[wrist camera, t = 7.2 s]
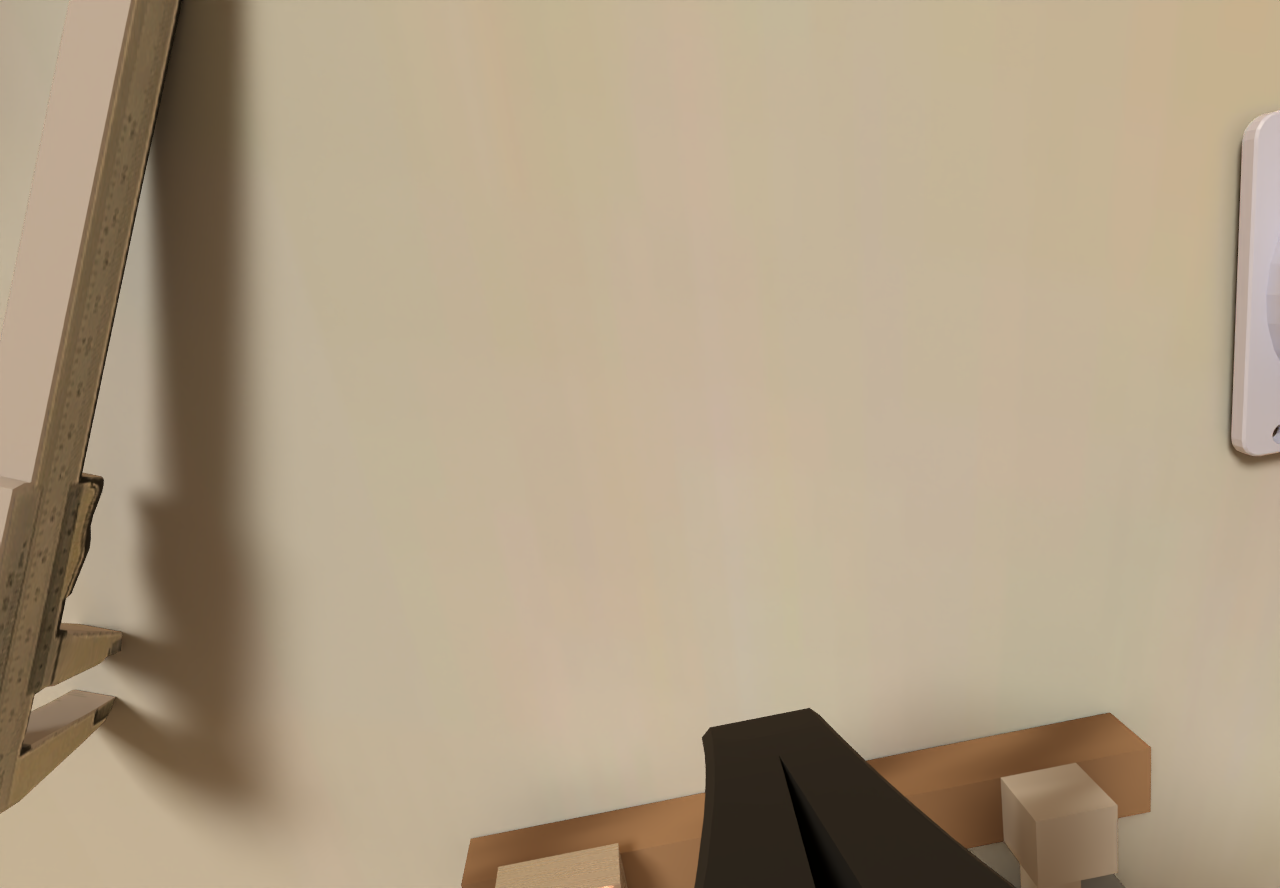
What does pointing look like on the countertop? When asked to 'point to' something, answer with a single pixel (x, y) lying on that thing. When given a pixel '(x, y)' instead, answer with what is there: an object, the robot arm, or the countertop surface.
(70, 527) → the caliper
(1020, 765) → the rail
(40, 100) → the countertop surface
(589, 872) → the orange handled lever
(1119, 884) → the bolt plate
